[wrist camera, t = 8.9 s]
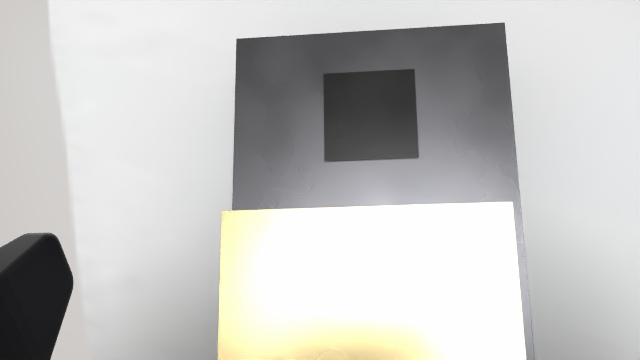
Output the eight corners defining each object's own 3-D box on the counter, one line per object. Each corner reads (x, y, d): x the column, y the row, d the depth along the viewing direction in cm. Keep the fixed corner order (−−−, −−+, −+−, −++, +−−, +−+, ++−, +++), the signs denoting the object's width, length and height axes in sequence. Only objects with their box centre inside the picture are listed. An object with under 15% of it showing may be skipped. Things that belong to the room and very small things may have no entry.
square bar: (444, 399, 20) (541, 532, 7) (320, 399, 20) (212, 523, 8) (437, 273, 21) (512, 201, 8) (318, 275, 21) (221, 211, 9)
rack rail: (539, 679, 18) (570, 750, 15) (245, 664, 19) (218, 728, 16) (489, 61, 23) (505, 21, 20) (255, 73, 24) (235, 37, 21)
